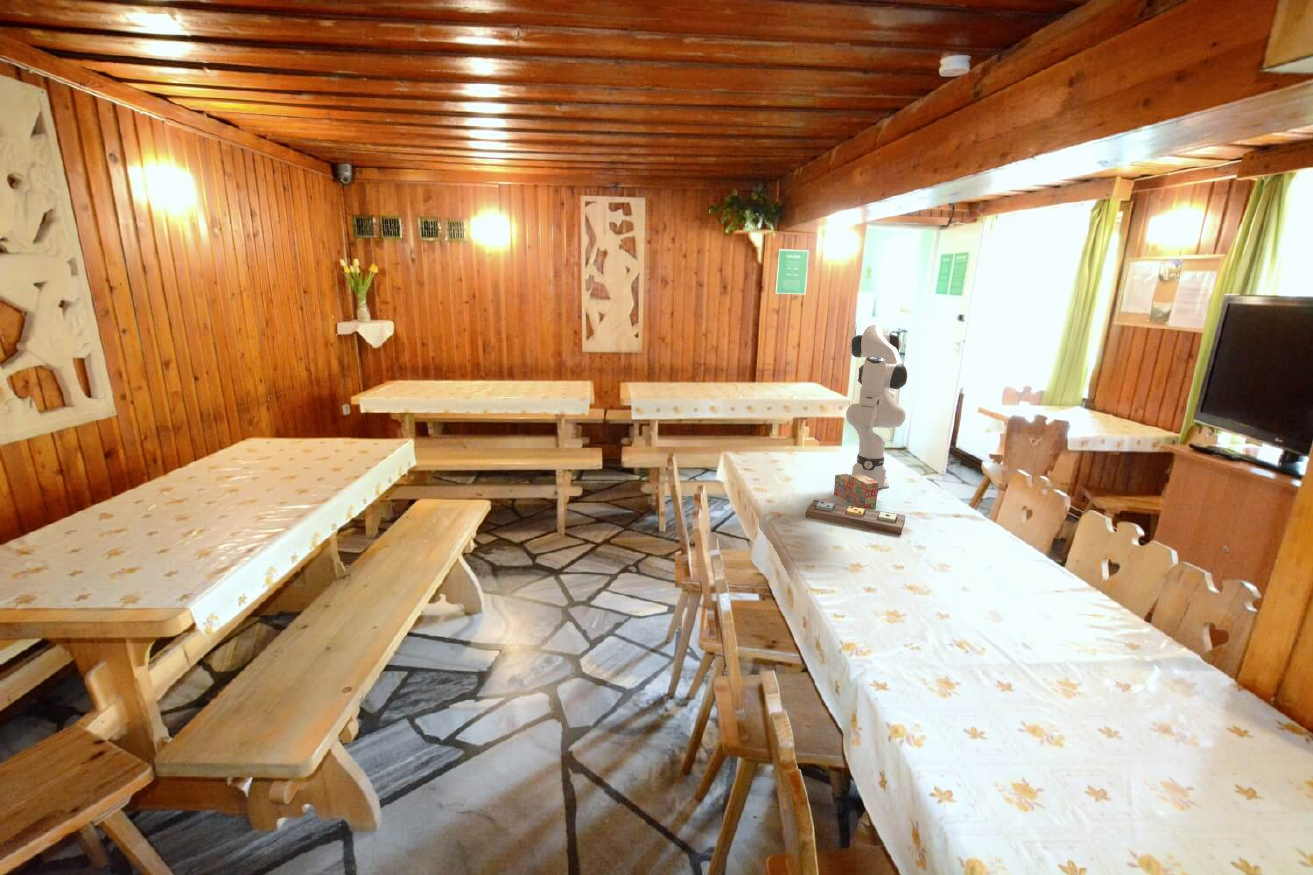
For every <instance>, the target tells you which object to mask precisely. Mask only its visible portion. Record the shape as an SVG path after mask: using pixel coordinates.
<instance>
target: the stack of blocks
mask: <svg viewBox="0 0 1313 875" xmlns="http://www.w3.org/2000/svg"><path fill="white" fill-rule="evenodd" d="M878 486H879V482H877V481H875V480H874V479H872V478H869V477H867V476H864V475H862V474H860V473H859V474H852V473H851V474H848V473H841V474H835V477H834V487H833V488H834V489H833V495H835V496H837V497H838V498H840V499H842V500H844V501H846V502H847V503H849V504H851V505H852V506H855V507H860V508H866V509H872V510H877V509H876V507H877V501H878V500H877V499H878V495H879V494H878V493H879V488H878Z"/></svg>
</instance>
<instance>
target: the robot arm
mask: <svg viewBox="0 0 1313 875" xmlns="http://www.w3.org/2000/svg"><path fill="white" fill-rule="evenodd" d="M901 346H902V340H901V338H900V335H899V334H898V333H896V332H886V329H885V328H884V327H883V326H882V325H879V324H872V325H869V326H868V327H866V328H865V330H864V331H863V334H858V335H857V334H856V336H854V337H852V338H851V341H850V344H849V350H850V352H851V355H852V356H853V357H854V358H858V359H859V358H865V359H864V363H863V364H862V365H861V366H860V367H859V368H858V378H857V382H858V383H859V384H860V385H861V387H860V392H859V402H857V403H853V404H850V405H849V406H848V407H847V409H846V412H845V418H846V421H847V422H848V424H850V425H851V426H852V427H853V428H854V430H855V432H856V433H857V436H858V440H859V442H858V443H859V444H858V454H857V456H856V463H854V464H853V465H852V471H851V474H859V473H860V474H862V475H864V476H867V477H869V478H872V479H874V480H875V481H877V482H879V486H878V489H885V488H890V484H889V480H888V477H887V476H886V474H887V473H886V472H887V470H886V468H885V467H884V464H885V456H884V454H885V446H886V442H885V439H884V438H883V437H882V436H881V435H879V434H877V432H874V431H873V429H874V428H884V429H885V428H886V429H887V428H888V429H891V428H899V427H900V428H901V426H902V425H903V423H905V420H906V412H905V410H904V408H903V407H902V406H901V405H899V403H898V402H896V401H895V400H894V398H893V397H892V395H891V394H890V389H893V390H899V389H902V388H903V387H904V386H906V384H907V381H908V370H907V368H906V366H905V365H904V363H903V361H902V358H901V355H900V349H901Z"/></svg>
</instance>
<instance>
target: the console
mask: <svg viewBox="0 0 1313 875" xmlns="http://www.w3.org/2000/svg"><path fill="white" fill-rule="evenodd" d="M819 501H822V502H828V503H832V502H831V501H825V500H820V499H819V500H818V499H813V500H812V502H811V503H810V504H809V506H808V507H807V508H806V512H805V518H808V519H814V520H820V521H823V522H824V521H826V522H829V523H830V522H831V523H835V524H840V525H846V526H852V527H857V528H862V529H867V530H873V531H877V532H878V531H879V532H884V533H889V534H895V535H902V534H903V533H902V532H903V530H904V526H905V521H906V514H899V513H895V512H889V511H885V512H886V513H891V514H897V516H896V523H892V522H887V521H881V520H878V517H879V514H880V512H884V511H883V510H877V509H873V510H872V509H866V508H862V509H865V511H864V517H859V516H853V515H848V514H846V513H847V510H848V508H849V506H851V507H856V506H855V505H849V504H848V505H847V504H843V503H837V502H833V503H834V509H833V511H832V512H831V511H826V510H820V509H816V505H817V504H818V502H819ZM857 508H860V507H857Z"/></svg>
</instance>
